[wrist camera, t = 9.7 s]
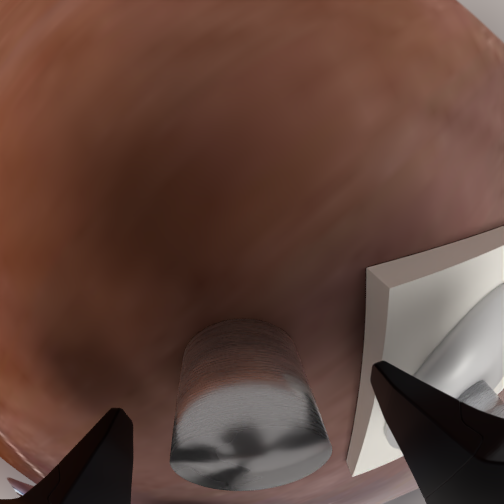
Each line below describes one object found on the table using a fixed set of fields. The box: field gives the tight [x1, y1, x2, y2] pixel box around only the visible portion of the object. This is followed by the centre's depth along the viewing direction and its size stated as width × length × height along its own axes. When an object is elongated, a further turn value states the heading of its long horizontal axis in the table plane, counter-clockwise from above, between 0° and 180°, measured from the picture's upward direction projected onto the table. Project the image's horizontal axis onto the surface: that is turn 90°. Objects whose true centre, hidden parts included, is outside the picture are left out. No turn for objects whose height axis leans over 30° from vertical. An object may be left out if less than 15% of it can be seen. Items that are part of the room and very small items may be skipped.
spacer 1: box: [170, 319, 332, 491], centre depth 8 cm, size 4×4×4 cm
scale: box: [346, 226, 504, 477], centre depth 11 cm, size 16×16×2 cm
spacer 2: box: [456, 380, 504, 418], centre depth 8 cm, size 4×4×4 cm
